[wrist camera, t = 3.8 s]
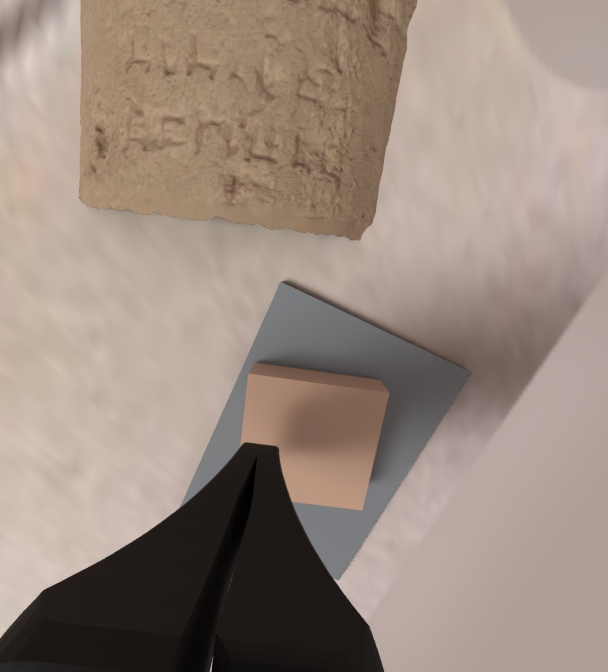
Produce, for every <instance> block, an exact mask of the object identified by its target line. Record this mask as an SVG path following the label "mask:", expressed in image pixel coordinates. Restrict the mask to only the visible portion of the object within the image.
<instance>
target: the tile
mask: <svg viewBox="0 0 608 672" xmlns="http://www.w3.org/2000/svg"><path fill="white" fill-rule="evenodd" d="M388 397H389V392H388V390H387V389H386V387H385V386H384V385H383V383H382V382H381V380H378V379H371V378H364V377H357V376H349V375H342V374H335V373H328V372H321V371H313V370H306V369H299V368H292V367H284V366H277V365H270V364H263V363H255V362H254V364H253V366H252V368H251V369H250V371H249V373H248V380H247V390H246V399H245V408H244V417H243V427H242V436H241V445H242V444H243V443H245V442H248V443H256V444H264V445H272V446H277V447H278V448H279V456H280V463H281V468H282V472H283V476H284V479H285V483H286V486H287V489H288V492H289V495H290V498H291V501H292V502H297V503H305V504H314V505H322V506H330V507H338V508H346V509H354V510H363V506H364V502H365V497H366V493H367V488H368V484H369V480H370V475H371V471H372V467H373V462H374V458H375V454H376V449H377V445H378V440H379V436H380V432H381V427H382V423H383V419H384V414H385V410H386V405H387V401H388ZM241 445H240V447H241Z"/></svg>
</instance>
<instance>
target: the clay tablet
mask: <svg viewBox="0 0 608 672" xmlns="http://www.w3.org/2000/svg"><path fill="white" fill-rule="evenodd" d="M416 6H417V0H81V47H82V59H81V69H82V72H81V105H80V117H81V120H80V123H81V138H80V147H81V150H80V187H79V199H80V200H81V202H82V203H86V205H87V206H88V207H93V208H95V209H97V210H99V209H101V208H104V209H106V210H107V209H108V208H110V207H111V208H113V209H115V210H120V211H123V210H124V209H129V210H131V211H133V212H135V213H137V214H138V213H140V214H143V215H145V214H148V215H150V214H151V213H153V212H154V211H155V212H157V213H158V214H160V215H166V216H171V217H176V218H182V219H189V220H202V221H206V220H209V219H211V218H213V217H216V216H218V217H222V218H223V219H225V220H228V221H230V222H236V223H248V224H251V225H254V224H260V225H262V226H263V227H267V228H269V229H271V230H273V229H275V228H276V229H281V228H289V229H293V230H296V231H300V232H303V233H306V232H310V233H314V234H315V235H318V234H322V233H324V234H325V235H332V234H335V236H337V237H341V236H343V235H345V236H346V237H347V238H349V239H350V240H357V239H359V240H360V239H361V236H362V234H363V232H364V231H365V230H366V228H367V227H369V226H370V225H371V224H372V222H373V219H374V216H375V212H376V204H377V198H378V189H379V183H380V179H381V175H382V171H383V164H384V156H385V150H386V146H387V143H388V140H389V135H390V130H391V123H392V119H393V115H394V110H395V104H396V95H397V92H398V87H399V82H400V77H401V72H402V66H403V61H404V57H405V54H406V50H407V28H408V25H409V22H410V20H411V17H412V15H413V12H414V10H415V8H416Z"/></svg>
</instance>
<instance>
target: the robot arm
mask: <svg viewBox="0 0 608 672" xmlns="http://www.w3.org/2000/svg"><path fill="white" fill-rule="evenodd" d="M232 575H233V576H232ZM230 582H231V583H230ZM229 585H230V586H229ZM228 589H229V590H228ZM212 658H213V663H212ZM211 663H212V672H384V669H383V666H382V663H381V659H380V656H379V653H378V649H377V647H376V644H375V641H374V638H373V635H372V632H371V630H370V627H369V625H368V624H367V623H366V622H365V620H364V619H363V618H362V617H361V615H360V614H359V613H358V612H357V610H356V609H355V608H354V607H353V605H352V604H351V603H350V601H349V600H348V599H347V597H346V596H345V595H344V593H343V592H342V590H341V589H340V588H339V586H338V585H337V583H336V582H335V580H334V579H333V578H332V576H331V575H330V573H329V572H328V570H327V568H326V567H325V565H324V563H323V562H322V560H321V559H320V557H319V555H318V554H317V552H316V550H315V549H314V547H313V545H312V544H311V542H310V540H309V538H308V536H307V534H306V532H305V530H304V528H303V526H302V524H301V522H300V520H299V518H298V515H297V513H296V511H295V508H294V506H293V503H292V501H291V498H290V495H289V492H288V489H287V486H286V483H285V479H284V476H283V472H282V468H281V463H280V456H279V448H278V447H277V446H272V445H264V444H256V443H248V442H245V443H243V444H242V445H241V447H240V448H239V449H238V451H237V452H236V453H235V454H234V456H233V457H232V458H231V459H230V460H229V461H228V463H227V464H226V465H225V466H224V467H223V468H222V469H221V470H220V471H219V472H218V473H217V474H216V475H215V476H214V477H213V478H212V479H211V480H210V481H209V482H208V483H207V484H206V485H205V486H204V487H203V488H202V489H201V490H200V491H199V492H198V493H197V494H196V495H194V496H193V497H192V498H191V499H190V500H189V501H188V502H186V503H185V504H184V505H183V506H182V507H180V508H179V509H178V510H177V511H175V512H174V513H173V514H171V515H170V516H169V517H167V518H166V519H165V520H163V521H162V522H161V523H159V524H158V525H156V526H155V527H154V528H152V529H151V530H149V531H148V532H147V533H145V534H144V535H142V536H141V537H139V538H138V539H136V540H134V541H133V542H131V543H129V544H128V545H126V546H125V547H123V548H121V549H120V550H118V551H116V552H115V553H113V554H111V555H110V556H108V557H106V558H105V559H103V560H101V561H99V562H97V563H96V564H94V565H92V566H90V567H88V568H86V569H84V570H82V571H80V572H78V573H76V574H74V575H73V576H71V577H69V578H67V579H65V580H63V581H61V582H59V583H57V584H55V585H53V586H51V587H49V588H47V589H45V590H43V591H42V592H41V593H40V595H39V596H38V597H37V598H36V599H35V600H34V601H33V602H32V603H31V604H30V605H29V606H28V607H27V608H26V609H25V610H24V611H23V613H22V614H21V615H20V616H19V617H18V618H17V619H16V620H15V622H14V623H13V624H12V625H11V626H10V627H9V628H8V630H7V631H6V632H5V633H4V634H3V636H2V637H1V638H0V672H210V667H211Z"/></svg>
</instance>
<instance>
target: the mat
mask: <svg viewBox="0 0 608 672" xmlns="http://www.w3.org/2000/svg"><path fill="white" fill-rule="evenodd" d="M254 362H255V363H263V364H270V365H277V366H284V367H292V368H299V369H306V370H313V371H321V372H328V373H335V374H342V375H349V376H357V377H364V378H371V379H378V380H381V382H382V383H383V385H384V386H385V387H386V389H387V390H388V392H389V397H388V401H387V405H386V410H385V414H384V419H383V423H382V427H381V432H380V436H379V440H378V445H377V449H376V454H375V458H374V462H373V467H372V471H371V475H370V480H369V484H368V488H367V493H366V497H365V502H364V506H363V510H354V509H346V508H338V507H330V506H322V505H314V504H305V503H297V502H292V503H293V506H294V508H295V511H296V513H297V515H298V518H299V520H300V522H301V524H302V526H303V528H304V530H305V532H306V534H307V536H308V538H309V540H310V542H311V544H312V545H313V547H314V549H315V550H316V552H317V554H318V555H319V557H320V559H321V560H322V562H323V563H324V565H325V567H326V568H327V570H328V572H329V573H330V575H331V576H332V578H335V579H337V580H339V579H340V578H341V576H342V575H343V573H344V572H345V570H346V569H347V567H348V565H349V564H350V562H351V561H352V559H353V558H354V556H355V554H356V553H357V551H358V550H359V548H360V547H361V545H362V543H363V542H364V540H365V539H366V537H367V536H368V534H369V532H370V531H371V529H372V528H373V526H374V525H375V523H376V522H377V520H378V518H379V517H380V515H381V514H382V512H383V511H384V509H385V507H386V506H387V504H388V503H389V501H390V500H391V498H392V496H393V495H394V493H395V492H396V490H397V489H398V487H399V485H400V484H401V482H402V481H403V479H404V478H405V476H406V474H407V473H408V471H409V470H410V468H411V467H412V465H413V464H414V462H415V460H416V459H417V457H418V456H419V454H420V453H421V451H422V449H423V448H424V446H425V445H426V443H427V442H428V440H429V438H430V437H431V435H432V434H433V432H434V431H435V429H436V427H437V426H438V424H439V423H440V421H441V420H442V418H443V417H444V415H445V413H446V412H447V410H448V409H449V407H450V406H451V404H452V402H453V401H454V399H455V398H456V396H457V395H458V393H459V391H460V390H461V388H462V387H463V385H464V384H465V382H466V380H467V379H468V377H469V376H470V374H471V372H469V371H468V370H466V369H464V368H462V367H459V366H457V365H455V364H453V363H451V362H449V361H447V360H445V359H443V358H441V357H439V356H436V355H434V354H432V353H430V352H428V351H426V350H424V349H422V348H420V347H418V346H415V345H413V344H411V343H409V342H407V341H405V340H403V339H401V338H399V337H397V336H395V335H392V334H390V333H388V332H386V331H384V330H382V329H380V328H378V327H376V326H374V325H371V324H369V323H367V322H365V321H363V320H361V319H359V318H357V317H355V316H353V315H351V314H348V313H346V312H344V311H342V310H340V309H338V308H336V307H334V306H332V305H330V304H327V303H325V302H323V301H321V300H319V299H317V298H315V297H313V296H311V295H309V294H307V293H304V292H302V291H300V290H298V289H296V288H294V287H292V286H290V285H288V284H286V283H283V282H281V283H280V285H279V287H278V289H277V292H276V294H275V296H274V298H273V301H272V303H271V305H270V307H269V310H268V312H267V314H266V316H265V319H264V321H263V323H262V325H261V327H260V330H259V332H258V334H257V336H256V339H255V341H254V343H253V345H252V348H251V350H250V352H249V354H248V357H247V359H246V361H245V363H244V366H243V368H242V370H241V372H240V374H239V377H238V379H237V381H236V383H235V386H234V388H233V390H232V392H231V395H230V397H229V399H228V401H227V404H226V406H225V408H224V410H223V413H222V415H221V417H220V419H219V421H218V424H217V426H216V428H215V430H214V433H213V435H212V437H211V439H210V442H209V444H208V446H207V448H206V451H205V453H204V455H203V457H202V460H201V462H200V464H199V466H198V469H197V471H196V473H195V475H194V477H193V480H192V482H191V484H190V486H189V489H188V491H187V493H186V495H185V498H184V500H183V502H182V504H181V507H182V506H183V505H184V504H185V503H186V502H188V501H189V500H190V499H191V498H192V497H193V496H194V495H196V494H197V493H198V492H199V491H200V490H201V489H202V488H203V487H204V486H205V485H206V484H207V483H208V482H209V481H210V480H211V479H212V478H213V477H214V476H215V475H216V474H217V473H218V472H219V471H220V470H221V469H222V468H223V467H224V466H225V465H226V464H227V463H228V461H229V460H230V459H231V458H232V457H233V456H234V454H235V453H236V452H237V451H238V449H239V448H240V445H241V436H242V427H243V417H244V408H245V399H246V390H247V380H248V373H249V371H250V369H251V368H252V366H253V364H254Z"/></svg>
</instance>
